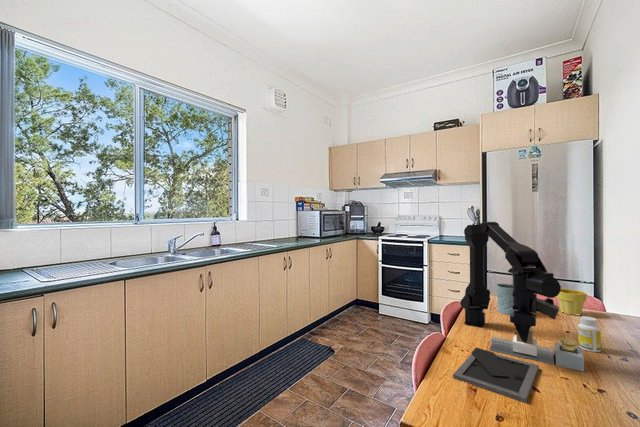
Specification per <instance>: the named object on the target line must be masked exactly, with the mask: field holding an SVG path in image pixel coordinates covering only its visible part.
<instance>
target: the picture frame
mask: <svg viewBox="0 0 640 427" xmlns="http://www.w3.org/2000/svg"><path fill="white" fill-rule="evenodd" d="M539 367H540V365H539V364H535V363H531V362H527V361H524V360H520V359H516V358H513V357H509V356H506V355H505V356H504V355H500V354H498V353H497V354H496V353H495V352H494V351H491V350H486V349H482V348H479V347H475V348H474V349H473V350H472V352H471V353H470V355H469V356H468V357H467V358H466V359H465V360H464V361H463V363H461V365H460V366H459V367H458V368H457V369H456V370H455V371H454V373H453V374H452V378H454V380H456V379H457V380H456V381H459V380H460V381H459V382H462V381H464V382H463V383H465V382H467V383H466V384H468V383H469V385H471V384H472V385H471V386H474V387H476V388H480V389H483V390H486V391H489V392H491V393H495V394H496V395H497V394H498V395H500V396H504V397H506V398H509V399H512V400H514V401H517V402H521V403H524V404H527V402H528V400H529V397H530V395H531V391H532V389H533V386H534V383H535V380H536V378H537V375H538V373H539V369H540V368H539Z"/></svg>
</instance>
